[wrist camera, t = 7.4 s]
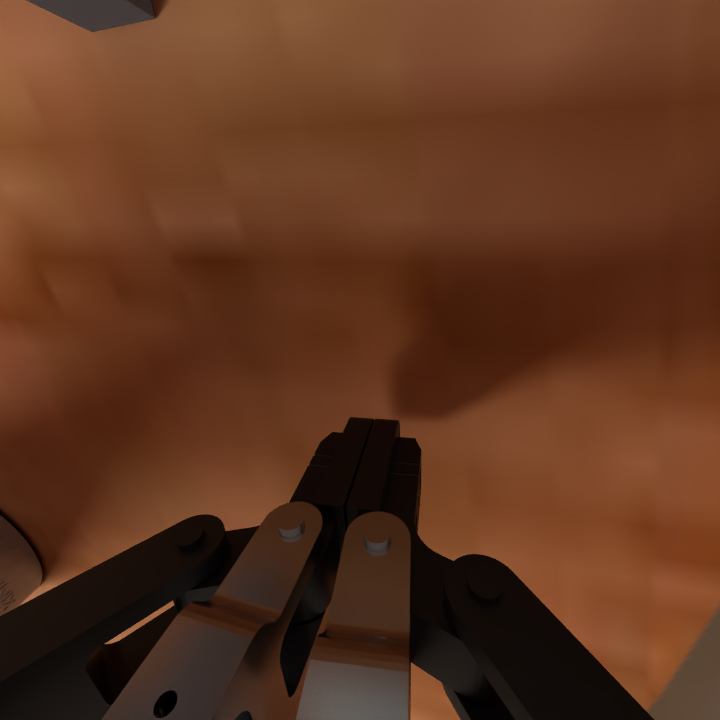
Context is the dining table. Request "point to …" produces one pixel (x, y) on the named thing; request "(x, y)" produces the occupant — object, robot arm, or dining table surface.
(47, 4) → the bridge
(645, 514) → the dining table surface
